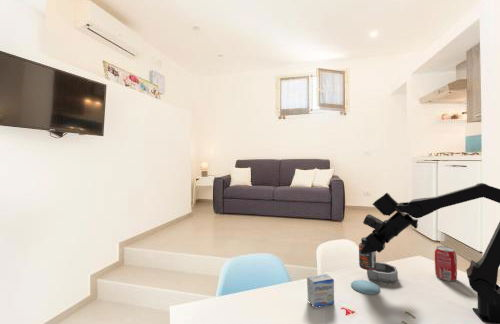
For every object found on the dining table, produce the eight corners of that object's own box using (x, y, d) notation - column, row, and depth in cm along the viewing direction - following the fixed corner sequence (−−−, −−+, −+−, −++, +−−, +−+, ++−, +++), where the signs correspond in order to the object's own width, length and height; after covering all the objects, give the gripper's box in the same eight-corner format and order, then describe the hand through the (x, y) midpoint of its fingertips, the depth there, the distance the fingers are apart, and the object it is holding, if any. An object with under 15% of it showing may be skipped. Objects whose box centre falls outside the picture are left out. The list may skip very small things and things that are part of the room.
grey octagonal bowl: (399, 285, 96) (399, 275, 96) (368, 281, 100) (368, 271, 100) (394, 273, 106) (394, 264, 106) (366, 270, 110) (366, 261, 110)
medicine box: (313, 308, 82) (313, 282, 82) (307, 301, 87) (306, 276, 87) (334, 304, 84) (334, 278, 84) (327, 297, 89) (326, 273, 89)
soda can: (449, 274, 104) (448, 245, 104) (461, 282, 97) (461, 251, 97) (431, 274, 105) (430, 245, 105) (442, 282, 98) (441, 251, 98)
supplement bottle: (356, 267, 97) (355, 238, 97) (363, 263, 101) (362, 235, 101) (372, 272, 93) (371, 242, 93) (378, 267, 97) (377, 238, 97)
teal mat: (381, 296, 89) (381, 295, 89) (351, 291, 92) (351, 290, 92) (378, 283, 98) (378, 282, 98) (350, 279, 102) (350, 278, 102)
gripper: (381, 204, 102) (354, 228, 109) (371, 212, 87) (340, 239, 94) (404, 226, 97) (374, 249, 104) (397, 239, 82) (363, 264, 89)
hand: (363, 250), depth 98 cm, fingers closed on supplement bottle, 6 cm apart
